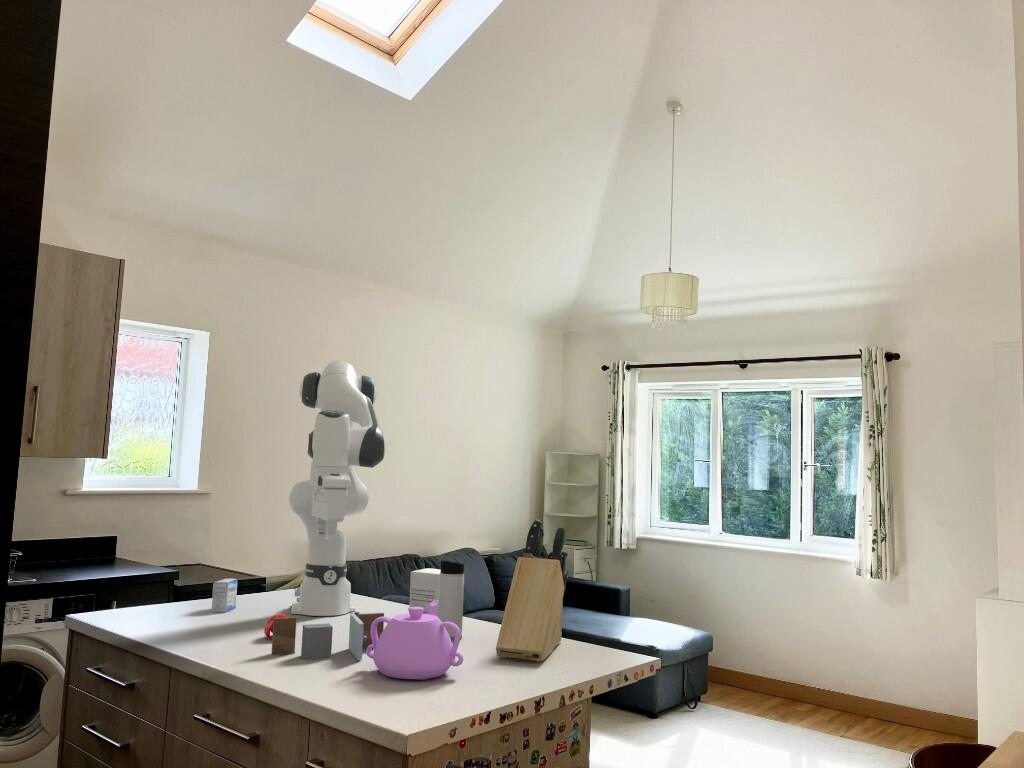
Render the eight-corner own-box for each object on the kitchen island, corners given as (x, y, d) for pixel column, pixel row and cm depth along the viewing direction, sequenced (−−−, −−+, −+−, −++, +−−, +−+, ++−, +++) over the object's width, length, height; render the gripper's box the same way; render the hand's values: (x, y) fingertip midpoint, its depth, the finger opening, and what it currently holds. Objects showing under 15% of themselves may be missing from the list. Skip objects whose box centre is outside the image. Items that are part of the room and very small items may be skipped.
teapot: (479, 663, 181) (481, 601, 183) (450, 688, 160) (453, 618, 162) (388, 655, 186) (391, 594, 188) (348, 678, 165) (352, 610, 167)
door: (347, 647, 191) (349, 613, 192) (357, 646, 192) (358, 612, 193) (357, 660, 179) (359, 623, 180) (367, 659, 180) (368, 623, 181)
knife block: (569, 635, 215) (572, 519, 218) (542, 666, 181) (545, 527, 184) (528, 632, 218) (531, 517, 221) (494, 661, 184) (498, 525, 187)
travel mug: (431, 638, 206) (434, 559, 208) (450, 635, 211) (453, 557, 213) (447, 642, 202) (451, 562, 204) (466, 639, 206) (469, 560, 208)
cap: (295, 627, 198) (297, 611, 203) (272, 620, 196) (275, 604, 201) (282, 650, 200) (285, 633, 206) (259, 643, 198) (262, 626, 204)
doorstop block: (301, 656, 183) (302, 624, 184) (327, 654, 186) (328, 623, 186) (304, 660, 179) (306, 628, 180) (331, 658, 182) (332, 626, 183)
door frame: (271, 653, 184) (273, 615, 185) (381, 646, 195) (382, 610, 196) (272, 654, 183) (274, 616, 184) (382, 647, 194) (384, 611, 195)
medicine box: (226, 613, 231) (228, 582, 232) (210, 612, 231) (213, 581, 232) (236, 608, 239) (238, 578, 240) (221, 607, 239) (223, 578, 240)
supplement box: (424, 620, 229) (426, 567, 230) (451, 624, 225) (453, 570, 226) (407, 626, 221) (409, 570, 222) (435, 629, 217) (437, 573, 218)
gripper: (307, 477, 196) (303, 534, 195) (324, 480, 177) (320, 543, 176) (332, 478, 199) (329, 534, 197) (352, 480, 180) (349, 543, 179)
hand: (325, 538), depth 186 cm, fingers open, 8 cm apart
